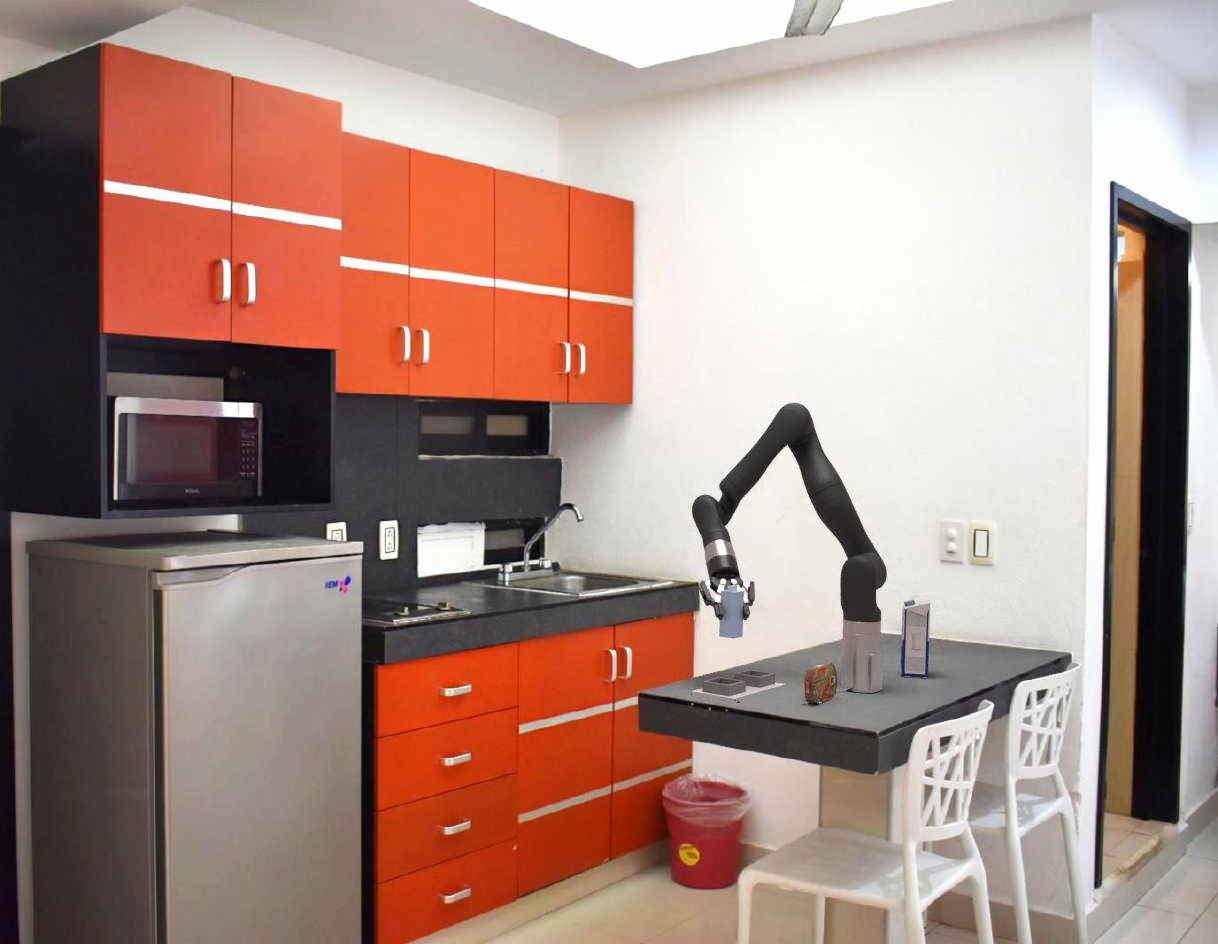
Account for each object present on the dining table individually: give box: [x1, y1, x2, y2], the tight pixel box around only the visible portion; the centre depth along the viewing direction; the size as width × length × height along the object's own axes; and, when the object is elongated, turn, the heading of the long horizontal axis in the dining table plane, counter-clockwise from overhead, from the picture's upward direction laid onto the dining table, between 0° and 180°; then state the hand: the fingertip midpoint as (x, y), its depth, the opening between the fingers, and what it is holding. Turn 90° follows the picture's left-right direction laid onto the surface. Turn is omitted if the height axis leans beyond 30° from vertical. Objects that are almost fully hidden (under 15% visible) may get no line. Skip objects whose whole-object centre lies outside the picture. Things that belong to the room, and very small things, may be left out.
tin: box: [803, 662, 838, 705], centre depth 281 cm, size 15×3×8 cm, turn 148°
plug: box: [718, 585, 745, 639], centre depth 287 cm, size 4×4×12 cm
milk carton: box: [900, 599, 931, 678], centre depth 317 cm, size 7×7×20 cm
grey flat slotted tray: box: [691, 669, 787, 701], centre depth 289 cm, size 12×24×4 cm, turn 142°
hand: (733, 618), depth 285 cm, fingers closed on plug, 5 cm apart
